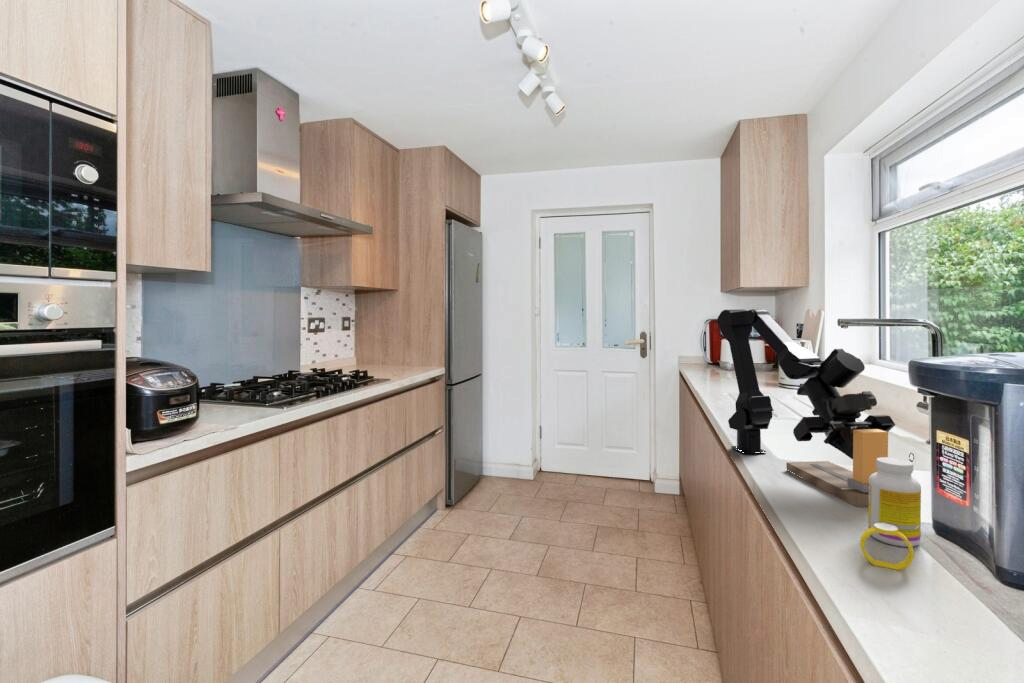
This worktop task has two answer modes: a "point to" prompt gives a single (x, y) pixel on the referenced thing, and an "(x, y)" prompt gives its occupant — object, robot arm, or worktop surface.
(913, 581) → the worktop surface
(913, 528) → the supplement bottle
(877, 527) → the watch
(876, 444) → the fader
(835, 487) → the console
